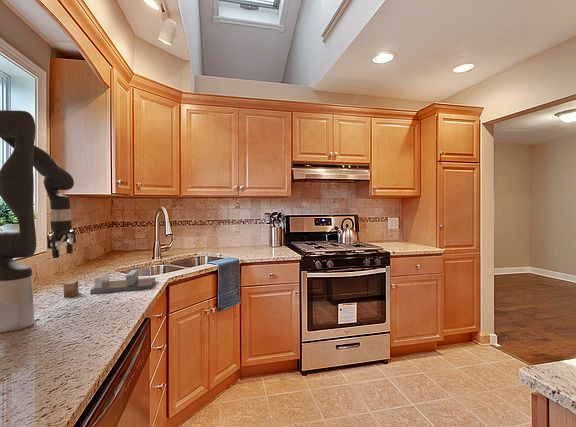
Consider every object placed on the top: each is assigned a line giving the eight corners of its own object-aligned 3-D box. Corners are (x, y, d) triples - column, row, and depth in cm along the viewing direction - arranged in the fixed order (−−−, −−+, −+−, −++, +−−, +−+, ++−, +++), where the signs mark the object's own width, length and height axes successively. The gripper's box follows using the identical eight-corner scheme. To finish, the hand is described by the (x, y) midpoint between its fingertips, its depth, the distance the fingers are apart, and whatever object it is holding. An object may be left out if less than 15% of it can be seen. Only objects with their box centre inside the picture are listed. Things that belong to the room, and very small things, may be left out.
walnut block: (74, 296, 138) (73, 283, 137) (64, 297, 136) (63, 284, 136) (78, 293, 142) (78, 280, 142) (68, 293, 141) (68, 281, 141)
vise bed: (151, 288, 148) (150, 274, 147) (90, 294, 141) (89, 279, 140) (155, 281, 161) (154, 268, 161) (100, 285, 154) (99, 272, 154)
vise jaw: (133, 285, 146) (132, 274, 146) (126, 285, 145) (126, 275, 145) (138, 278, 158) (138, 269, 158) (132, 279, 157) (131, 269, 157)
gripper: (57, 221, 126) (60, 259, 128) (80, 217, 140) (82, 252, 142) (39, 221, 126) (41, 259, 127) (63, 217, 140) (65, 252, 142)
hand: (63, 255), depth 135 cm, fingers open, 8 cm apart
